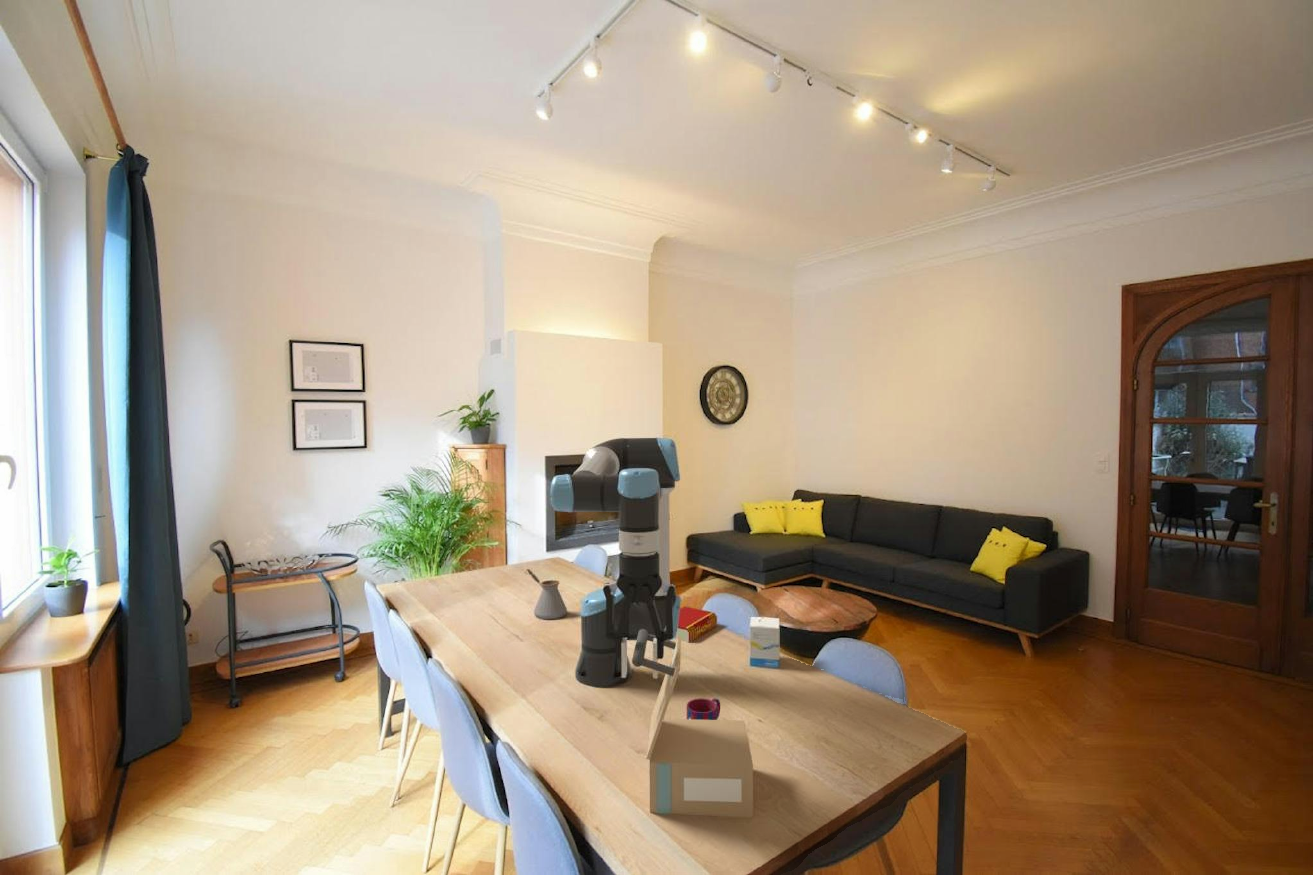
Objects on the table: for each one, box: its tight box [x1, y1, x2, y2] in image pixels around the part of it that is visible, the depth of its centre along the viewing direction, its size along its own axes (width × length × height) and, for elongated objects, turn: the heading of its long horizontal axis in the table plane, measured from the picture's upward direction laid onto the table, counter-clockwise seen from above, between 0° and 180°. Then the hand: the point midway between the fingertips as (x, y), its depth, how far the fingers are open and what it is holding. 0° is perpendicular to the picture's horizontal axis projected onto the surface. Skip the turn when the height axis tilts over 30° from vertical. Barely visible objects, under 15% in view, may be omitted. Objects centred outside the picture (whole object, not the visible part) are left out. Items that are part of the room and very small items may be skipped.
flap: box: [631, 629, 682, 761], centre depth 109 cm, size 17×14×8 cm
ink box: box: [749, 616, 781, 669], centre depth 168 cm, size 9×8×12 cm
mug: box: [686, 697, 721, 720], centre depth 130 cm, size 7×10×7 cm
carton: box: [649, 718, 754, 819], centre depth 109 cm, size 18×15×10 cm
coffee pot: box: [524, 568, 568, 621], centre depth 209 cm, size 21×12×15 cm, turn 43°
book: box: [673, 606, 718, 643], centre depth 193 cm, size 18×13×5 cm
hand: (639, 674), depth 109 cm, fingers open, 5 cm apart
